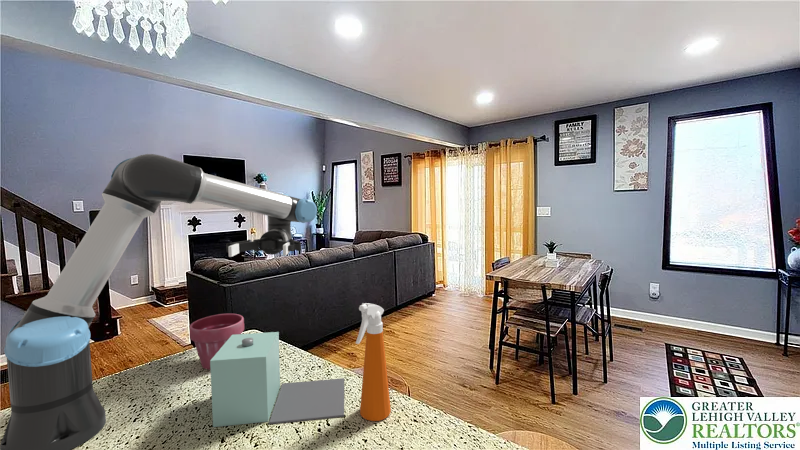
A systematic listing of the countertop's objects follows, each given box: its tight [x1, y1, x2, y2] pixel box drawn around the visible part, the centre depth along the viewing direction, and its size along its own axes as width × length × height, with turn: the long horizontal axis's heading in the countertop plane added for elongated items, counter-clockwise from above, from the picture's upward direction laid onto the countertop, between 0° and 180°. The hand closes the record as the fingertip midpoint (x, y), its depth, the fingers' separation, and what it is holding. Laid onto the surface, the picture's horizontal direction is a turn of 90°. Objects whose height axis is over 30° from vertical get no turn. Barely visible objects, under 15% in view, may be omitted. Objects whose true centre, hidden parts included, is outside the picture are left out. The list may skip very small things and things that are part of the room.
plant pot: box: [189, 313, 245, 371], centre depth 101 cm, size 14×14×13 cm
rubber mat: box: [268, 378, 345, 425], centre depth 83 cm, size 16×16×1 cm
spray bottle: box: [355, 302, 392, 422], centre depth 75 cm, size 7×11×26 cm, turn 154°
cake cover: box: [210, 331, 281, 428], centre depth 80 cm, size 11×14×16 cm
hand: (257, 251), depth 90 cm, fingers open, 13 cm apart
